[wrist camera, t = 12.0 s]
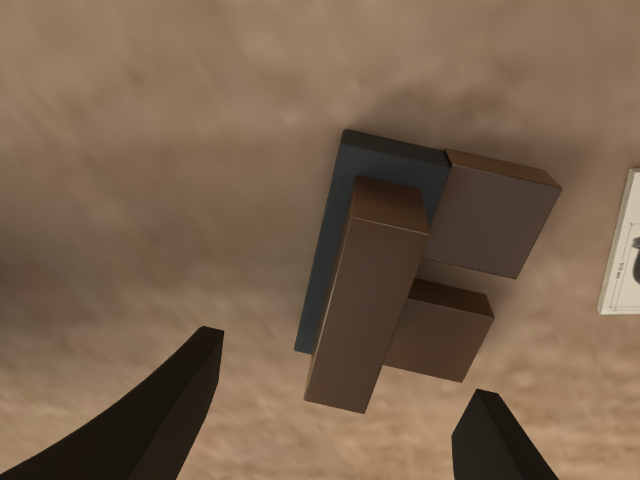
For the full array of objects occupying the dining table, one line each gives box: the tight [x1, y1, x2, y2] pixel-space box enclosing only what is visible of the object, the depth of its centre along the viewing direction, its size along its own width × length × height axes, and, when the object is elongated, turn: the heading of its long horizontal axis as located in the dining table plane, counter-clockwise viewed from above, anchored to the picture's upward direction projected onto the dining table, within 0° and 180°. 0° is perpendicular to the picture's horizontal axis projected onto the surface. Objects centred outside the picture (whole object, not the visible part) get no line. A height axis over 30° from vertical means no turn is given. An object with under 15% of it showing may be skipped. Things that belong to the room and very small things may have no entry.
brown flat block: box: [422, 149, 562, 279], centre depth 17 cm, size 4×4×2 cm
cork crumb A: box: [383, 278, 495, 383], centre depth 20 cm, size 4×4×2 cm
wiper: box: [294, 129, 451, 414], centre depth 17 cm, size 4×10×6 cm, turn 169°
